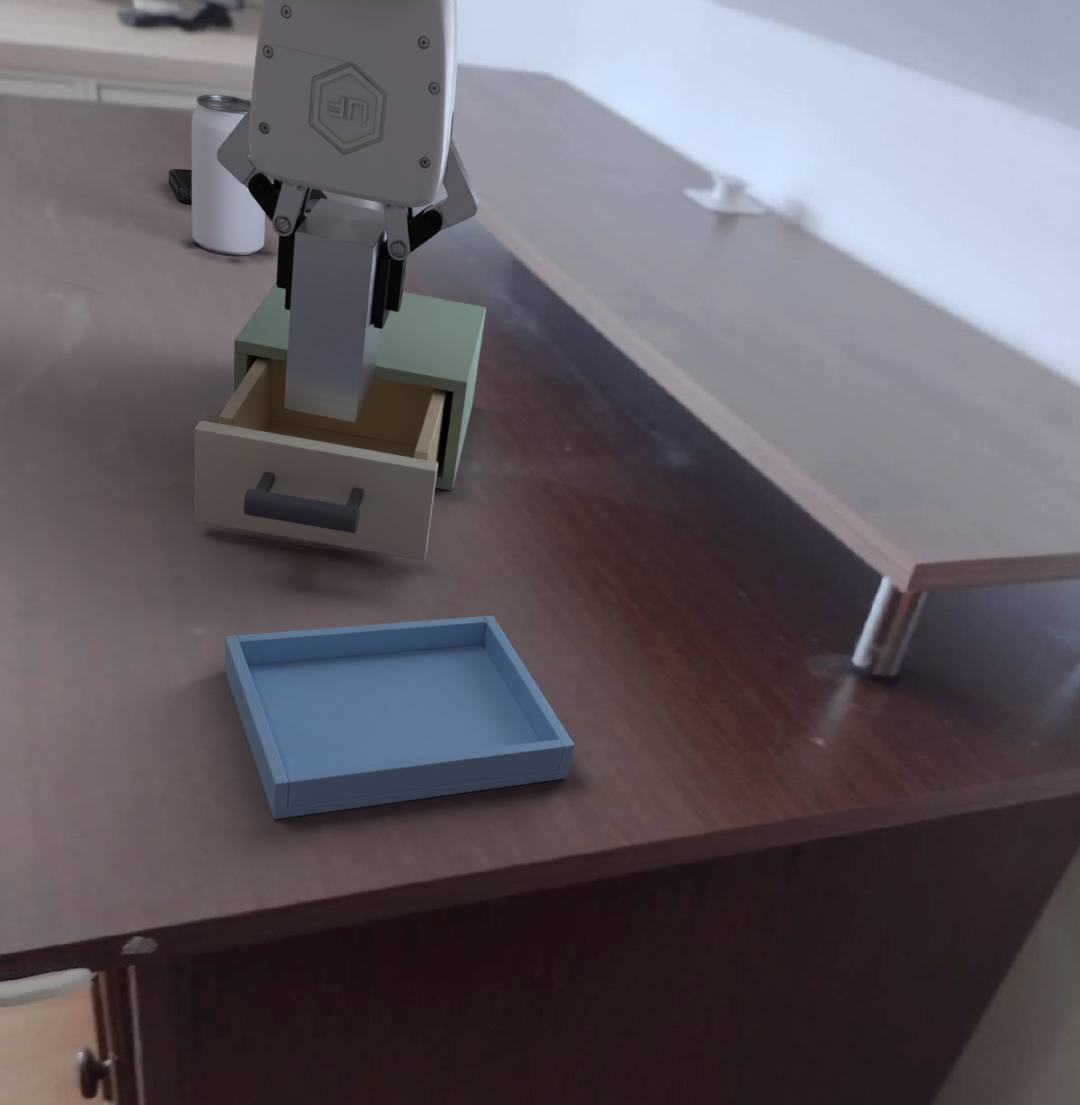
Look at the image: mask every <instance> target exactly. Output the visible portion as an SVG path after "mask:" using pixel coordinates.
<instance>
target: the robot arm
mask: <svg viewBox="0 0 1080 1105" xmlns="http://www.w3.org/2000/svg"><path fill="white" fill-rule="evenodd" d="M458 28H459V27H458V5H457V0H263V1H262V7H261V14H260V20H259V28H258V35H257V42H256V51H255V59H254V68H253V69H254V70H253V79H252V88H251V97H250V98H251V99H250V101H251V107H250V109H249V110H248V112H247V113H246V114H245V116H244V117H243V118H242V119H241V121H240V122H239V123H238V124H237V126H236V127H235V128H234V130H233V131H232V132H231V133H230V135H229V136H228V137H227V138H226V140H225V141H224V142H223V144H222V145H221V146H220V147H219V149H218V151H217V159H218V161H219V162H220V163H221V164H222V165H223V166H224V167H225V168H226V169H227V170H228V171H229V172H230V173H231V174H232V175H233V176H234V177H235V178H236V179H237V180H238V181H239V182H240V183H241V184H244V185H245V186H246V187H247V188H248V189H249V192H250V194H251V195H252V196H253V198H254V199H255V200H256V202H257V203H258V204H259V206H260V207H261V208H262V209H263V211H264V212H265V216H267V218H268V219H269V220H270V221H271V226H272V229H273V231H274V232H275V233H276V234H277V235H278V246H277V262H276V263H277V264H276V282H275V283H276V284H277V287H278V288H283V289H286V293H285V309H286V310H290V306H291V290H292V275H293V259H294V244H295V232H296V230H297V229H298V228H299V226H300V225H301V224H302V223H303V221H304V220H305V219H306V217H307V216H306V211H307V210H306V207H307V204H308V200H309V197H310V194H311V190H312V188H313V189H317V190H321V191H322V192H327V193H330V194H331V193H332V194H335V195H340V196H341V195H342V196H346V197H349V198H355V199H361V200H365V201H369V202H374V203H379V204H383V212H384V216H385V226H386V236H387V239H386V240H385V242H384V246H383V250H382V252H381V254H380V256H379V258H378V262H377V270H376V280H375V289H374V298H373V308H372V317H371V325H373V327H374V328H379V329H383V327H384V325H385V322H386V320H387V318H388V316H389V313H390V311H395V312H399V310H400V307H401V303H402V296H403V292H404V287H405V278H406V270H407V262H408V261H407V260H408V256H409V255H410V254H411V253H412V252H414V251H415V250H416V249H418V248H419V247H421V246H422V245H424V244H425V243H427V242H428V241H429V240H431V239H432V238H433V237H435V236H436V235H437V234H438V233H439V232H441V231H443V230H445V229H448V228H451V227H453V226H455V225H458V224H460V223H463V222H464V221H466V220H468V219H471V218H473V217H474V216H476V214H477V212H478V209H479V206H480V200H479V196H478V193H477V192H476V190H475V188H474V185H473V183H472V181H471V179H470V177H469V176H470V175H469V174H468V172H467V169H466V167H465V165H464V163H463V160H462V159H461V156H460V153H459V152H458V150H457V147H456V144H455V143H454V140H453V127H454V117H455V105H456V89H457V76H458V75H457V73H458ZM280 181H283V184H281V183H280ZM442 187H444V189H445V192H446V194H447V195H446V197H444V199H442V200H440V201H439V202H437V203H434V204H431V203H433V202H434V201H435V199H436V198H438V195H439V194H440V193H441V189H442ZM425 206H426V207H425ZM420 207H425V208H423V209H422V210H421V211H419V212H418V213H416V214H415V208H420Z"/></svg>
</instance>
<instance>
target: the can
mask: <svg viewBox="0 0 1080 1105" xmlns="http://www.w3.org/2000/svg"><path fill="white" fill-rule="evenodd" d="M196 102H197V105H196V107H195V109H194V111H193V113H192V115H191V170H192V203H191V226H192V227H191V233H192V239H193V241H195V243H196V244H197V246H198V247H200V248H202V249H203V250H206V251H208V252H212V253H216V254H220V255H227V256H247V255H248V256H249V255H254V254H257V253H259V252H260V251H261V249H262V248H263V247H264V246H265V236H266V235H265V234H266V233H265V232H266V213H265V212H264V211H263V209H262V208H261V207H260V206H259V204H258V203H257V202H256V200H255V199H254V198H253V196H252V195H251V194H250V192H249V189H248V188H247V187H246V186H245V185H244V184H241V183H240V182H239V181H238V180H237V179H236V178H235V177H234V176H233V175H232V174H231V173H230V172H229V171H228V170H227V169H226V168H225V167H224V166H223V165H222V164H221V163H220V162H219V161H218V159H217V151H218V149H219V147H220V146H221V145H222V144H223V142H224V141H225V140H226V138H227V137H228V136H229V135H230V133H231V132H232V131H233V130H234V128H235V127H236V126H237V124H238V123H239V122H240V121H241V119H242V118H243V117H244V116H245V114H246V113H247V112H248V110H249V109H250V107H251V99H247V98H243V97H238V96H232V95H225V94H204V95H199V96H197V97H196Z"/></svg>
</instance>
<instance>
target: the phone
mask: <svg viewBox="0 0 1080 1105" xmlns="http://www.w3.org/2000/svg"><path fill="white" fill-rule="evenodd" d="M280 183H281V184H283V181H280ZM168 184H169V186H170V187H171V188H170V189H172V191H173V193H174V195H175V196H176V198H177V200H178V201H179V202H182V203H185V204H186V203H187V204H192V169H186V168H185V169H183V168H171V169H169V170H168ZM321 198H322V199H327V200H328V196H327V195H326V194H325V193H324V191H322V190H317V189H313V188H312V190H311V194H310V197H309V200H308V204H307V207H306V211H312V209H313V208H314V207H315V205H316V204H317V203H318V201H319V200H320V199H321Z"/></svg>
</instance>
